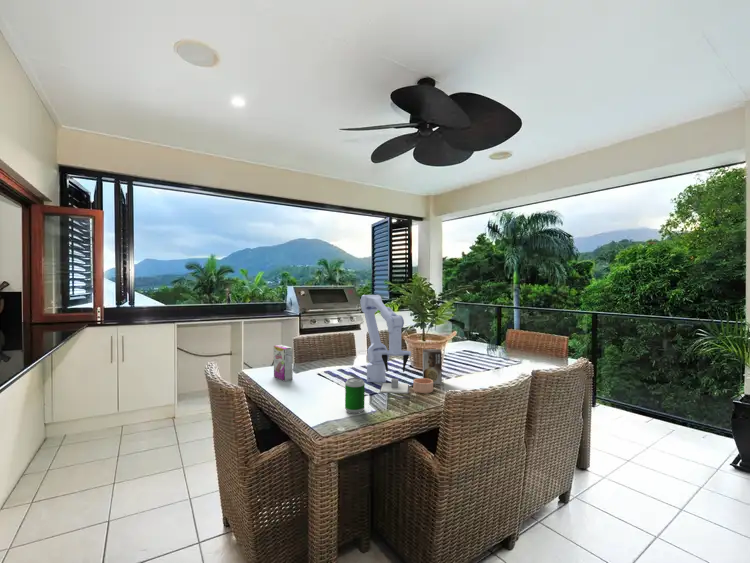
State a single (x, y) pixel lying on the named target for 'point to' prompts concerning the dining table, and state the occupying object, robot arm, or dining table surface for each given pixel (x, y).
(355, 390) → the soda can
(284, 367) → the candy bar box
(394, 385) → the cover
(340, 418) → the dining table surface
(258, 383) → the dining table surface
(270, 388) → the dining table surface
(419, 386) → the bowl
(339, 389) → the dining table surface
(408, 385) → the mat
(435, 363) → the coffee box
